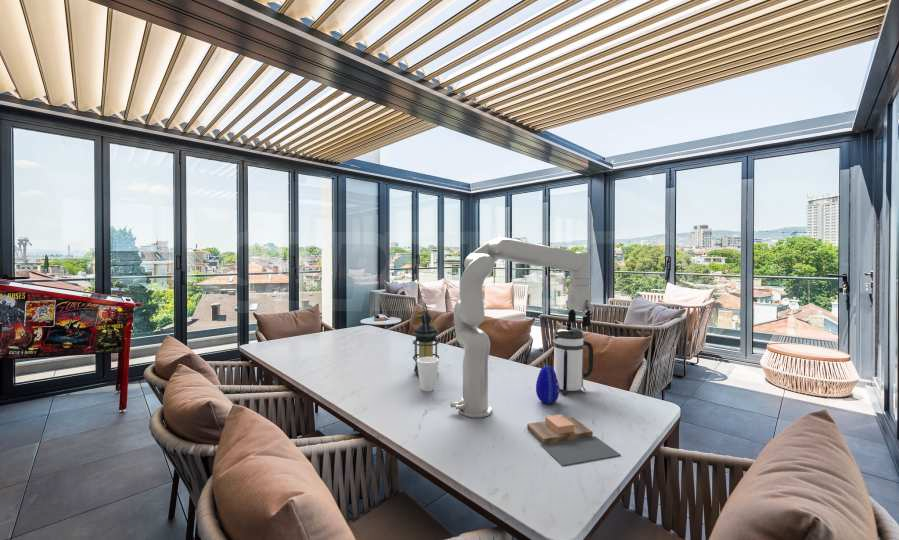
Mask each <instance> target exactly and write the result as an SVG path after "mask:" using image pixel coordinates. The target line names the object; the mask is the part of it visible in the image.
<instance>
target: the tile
mask: <svg viewBox="0 0 899 540" xmlns="http://www.w3.org/2000/svg"><path fill="white" fill-rule="evenodd" d="M544 418H545V419H544V421H545V424H546V425H548V426H549V427H550V428H551V429H552V430H554V431H555V432H556V433H557V434H563V433H569V432H574V424H573V423H571V422H570V421H569V420H567V419H566V417H564V415H562V414H555V415H548V416H545V417H544Z"/></svg>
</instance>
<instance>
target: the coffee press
mask: <svg viewBox="0 0 899 540" xmlns="http://www.w3.org/2000/svg"><path fill="white" fill-rule="evenodd" d="M572 326H573V325H572V322H568V321H567V322H566V325H565V326H563V327H557V328H556V329H555V330H554V332H553V337H552V338H553V339H552V343H553V367H552V368H553V369H554V371H555V373H556V377H557V380H558V384H559V388H560V389H559V390H562V396H567V394H568V392H575V391H580V392H581V393H583V394H585V393H586V388H585V387H584V378H587V377H589V376H590V375H591V374H592V372H593V369H594V348H593V345H592V344H591V342H589V341H585V340H584V339H585V334H584V332H583V331H582V330H581V329H579V328H577V327H572ZM585 346H586V347H587V348H588V363H587V370H586V371H585V372H584V356H585V355H584V352H585V351H584V350H585V349H584V347H585ZM582 389H583V390H582Z"/></svg>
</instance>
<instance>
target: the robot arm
mask: <svg viewBox="0 0 899 540" xmlns="http://www.w3.org/2000/svg"><path fill="white" fill-rule="evenodd" d="M499 260H503V261H507V262H513V263H518V264H523V265H529V266H534V267H547V268H548V267H549V268H553V269H554V270H555V269H556V270H558V271H567V272H568V271H569V272H570V274H569V277H570V278H569V286H568V291H567V300H566V301H565V304H566V309H567V312H568V314H567V315H568V318H567V319H568V320H567V323H568V322H570V323H576V318H577V317H576V316H577V313H576V312H581V313H582V327H584V328H585V327H591V317H592V314H593V312H594V309H595V306H594V305H593V304H592V300H591V299H592V298H591V289H590V288H591V287H590V279H591V275H590V273H591V272H590V271H591V254H590V253H589V252H586V251H573V250H568V249H563V248H558V247H551V246H547V245H543V244H539V243H534V242H528V241H524V240H520V239H514V238H510V237H496V238H493V239H491V240H489V241H487V242H486V243H485V244H483V245H482V246H480V247H478V248H477V249H476V250H475V249H474V251H473V252H471V253H469V254H468V256H466V258H465V259H464V262H463V266H464V270H463V273H462V274H461V276H460V280H459V299H458V300H457V301H456V303H455V304H454V306H453V320H454V322H453V323H454V331H455V337H456V341H457V343H458V345H459V346H461V348H463V349H464V355H463V360H462V397H460V400H458V401H453V402H450V403H449V405H450V408H455V410H458V412H459V414H461V415H462V416H464V417H468V418H472V419H473V418H474V419H475V418H477V419H480V418H485V417H488V416H489V415H491V414H492V411H493V408H492V407H491V405H489V403H488V401H489V400H488V399H489V358H490V357H489V356H490V349H491V340H490V337H489V335H488V334H487V333H486V332H485V331H484V330H482V329H481V328H479V325H481V324H482V323H483V321H484V319H485V306H484V305H485V304H484V296H483V285H484V282H485V279H487V277H488V276H489V275H490V274H492V272H493V271H494V269H495V263H496V262H497V261H499Z"/></svg>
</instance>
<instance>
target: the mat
mask: <svg viewBox="0 0 899 540" xmlns="http://www.w3.org/2000/svg"><path fill="white" fill-rule="evenodd" d="M540 446H541V447H542V448H543V449H544V450H545V451H546V452H547V453H548V454H549V455H550V456H551V457H552V458H553V459H554V460H555V461H557V463H558V464H560V465H561V467H565V466H571V465H577V464H582V463H588V462H593V461H594V462H595V461H600V460H604V459H610V458H616V457H621V453H619V452H618V451H616V449H614V448H612V447H610V445H608V444H607V443H606V442H604V441H603V440H601V439H600V438H598V437H597V436H596V435H595V436H594V435H593V437H586V438H580V439H574V440H567V441H561V442H554V443H548V444H542V443H541V444H540Z"/></svg>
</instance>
